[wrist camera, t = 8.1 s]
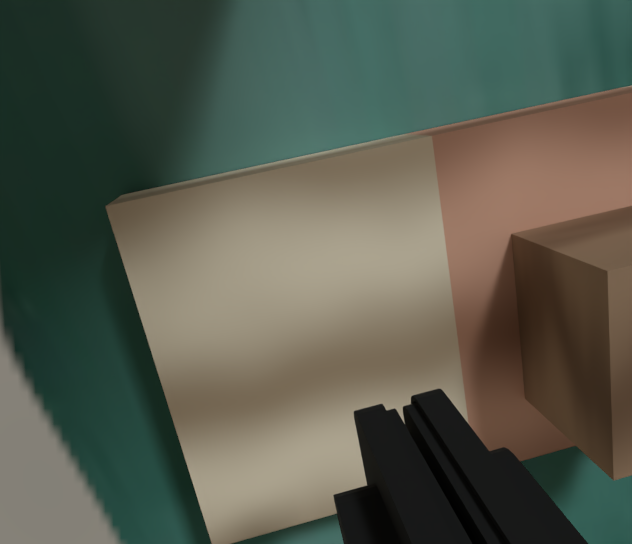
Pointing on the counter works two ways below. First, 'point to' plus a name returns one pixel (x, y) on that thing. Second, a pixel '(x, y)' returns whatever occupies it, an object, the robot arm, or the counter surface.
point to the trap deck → (355, 296)
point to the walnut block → (580, 331)
